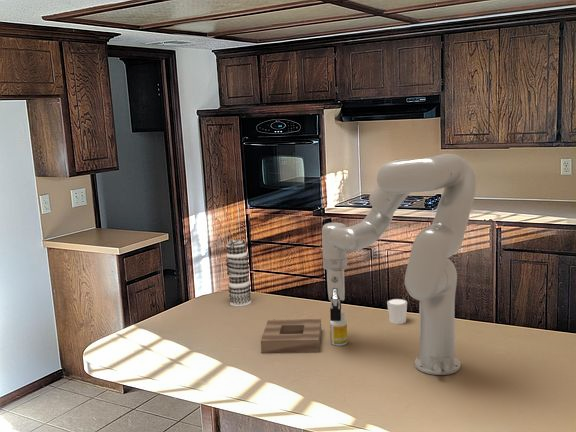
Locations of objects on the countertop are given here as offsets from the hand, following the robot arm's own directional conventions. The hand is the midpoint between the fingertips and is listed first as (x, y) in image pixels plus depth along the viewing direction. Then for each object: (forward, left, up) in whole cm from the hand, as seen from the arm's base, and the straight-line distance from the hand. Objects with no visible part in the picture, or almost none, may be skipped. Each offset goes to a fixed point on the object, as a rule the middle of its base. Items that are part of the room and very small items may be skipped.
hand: (335, 314), depth 187 cm
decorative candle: (+42, +38, -9) cm, 57 cm away
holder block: (+2, +14, -9) cm, 17 cm away
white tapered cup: (+18, -21, -9) cm, 29 cm away
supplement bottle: (0, -1, -9) cm, 9 cm away
